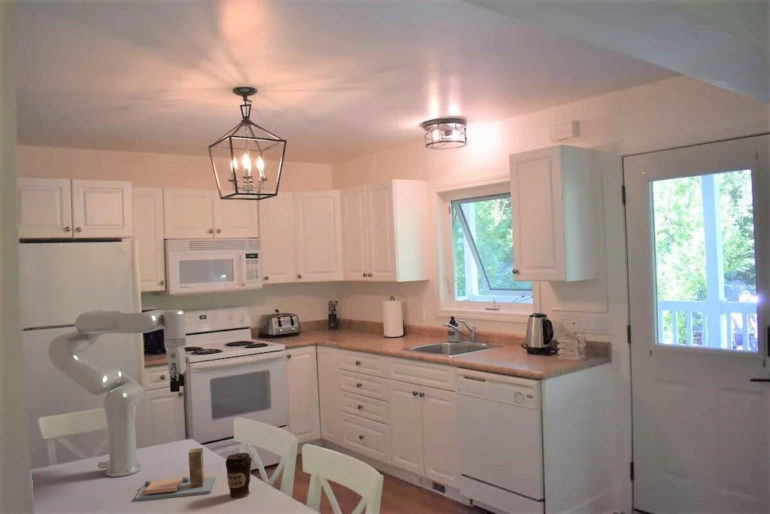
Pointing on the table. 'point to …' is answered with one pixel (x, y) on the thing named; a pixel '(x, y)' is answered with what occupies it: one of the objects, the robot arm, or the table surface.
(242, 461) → the coffee cup
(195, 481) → the walnut block
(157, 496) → the board
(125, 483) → the table surface
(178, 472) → the table surface
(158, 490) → the tile
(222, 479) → the table surface
